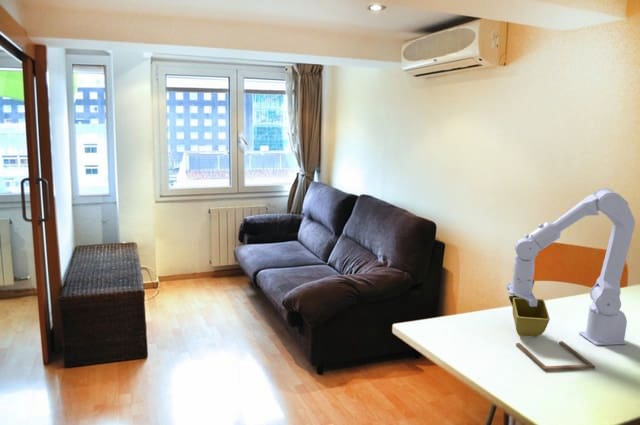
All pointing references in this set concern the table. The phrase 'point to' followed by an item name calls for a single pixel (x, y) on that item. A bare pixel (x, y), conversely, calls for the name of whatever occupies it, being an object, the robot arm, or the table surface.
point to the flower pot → (530, 317)
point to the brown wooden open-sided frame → (564, 367)
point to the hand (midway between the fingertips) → (518, 319)
